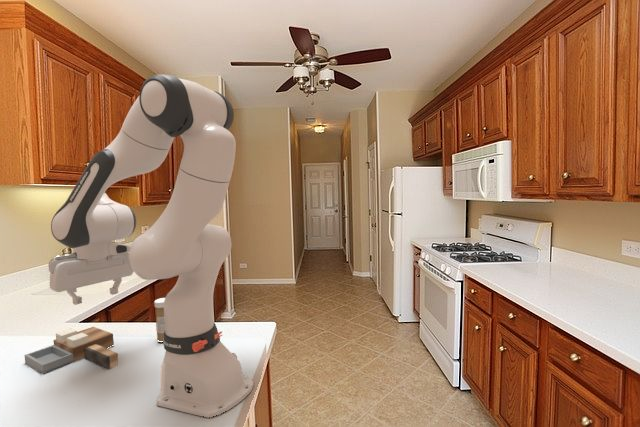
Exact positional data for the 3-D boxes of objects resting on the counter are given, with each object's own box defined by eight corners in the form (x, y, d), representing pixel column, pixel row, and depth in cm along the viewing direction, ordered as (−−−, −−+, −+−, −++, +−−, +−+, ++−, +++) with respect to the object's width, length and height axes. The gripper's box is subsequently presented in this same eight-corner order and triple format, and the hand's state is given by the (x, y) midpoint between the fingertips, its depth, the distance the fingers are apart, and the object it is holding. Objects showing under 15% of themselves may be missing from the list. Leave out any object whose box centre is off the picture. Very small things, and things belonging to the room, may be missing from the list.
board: (113, 346, 104) (112, 333, 103) (73, 362, 94) (72, 348, 94) (94, 338, 110) (93, 326, 110) (54, 352, 100) (53, 340, 100)
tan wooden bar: (118, 365, 92) (117, 353, 92) (107, 370, 90) (106, 357, 90) (96, 355, 98) (95, 343, 98) (85, 359, 96) (84, 348, 96)
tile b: (77, 337, 102) (77, 330, 101) (62, 342, 98) (61, 335, 98) (71, 334, 104) (70, 328, 104) (56, 339, 100) (55, 333, 100)
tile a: (89, 341, 98) (88, 335, 98) (73, 347, 95) (73, 340, 94) (82, 339, 100) (81, 332, 100) (67, 344, 97) (66, 337, 97)
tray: (73, 362, 94) (72, 353, 94) (43, 374, 88) (42, 365, 88) (54, 352, 100) (53, 344, 100) (25, 363, 94) (24, 355, 94)
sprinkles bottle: (160, 337, 109) (157, 297, 108) (174, 336, 109) (172, 296, 108) (154, 344, 104) (151, 302, 103) (169, 343, 105) (167, 301, 104)
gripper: (53, 258, 82) (57, 312, 83) (135, 245, 99) (138, 290, 100) (42, 255, 85) (46, 308, 86) (123, 243, 102) (126, 287, 103)
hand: (96, 298), depth 93 cm, fingers open, 8 cm apart
